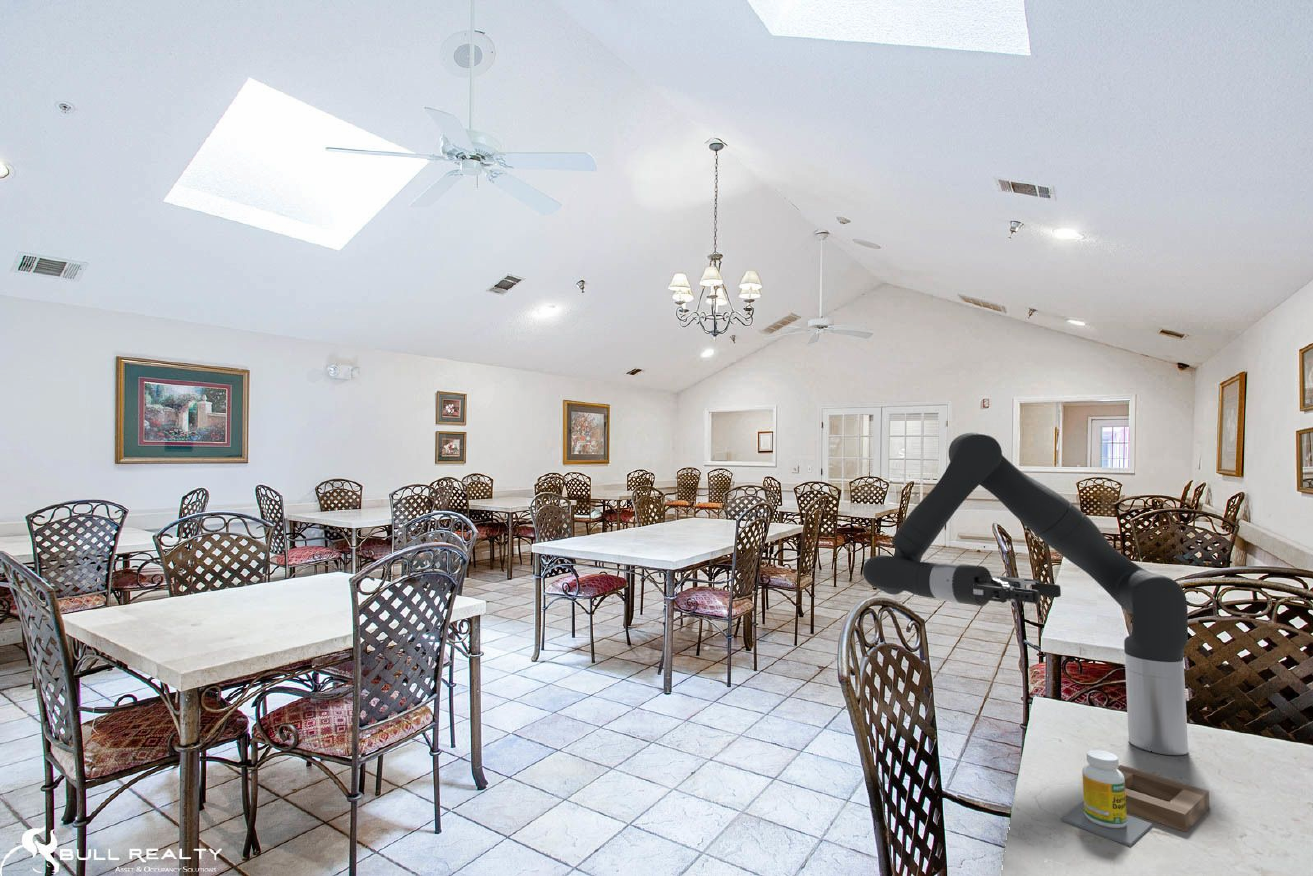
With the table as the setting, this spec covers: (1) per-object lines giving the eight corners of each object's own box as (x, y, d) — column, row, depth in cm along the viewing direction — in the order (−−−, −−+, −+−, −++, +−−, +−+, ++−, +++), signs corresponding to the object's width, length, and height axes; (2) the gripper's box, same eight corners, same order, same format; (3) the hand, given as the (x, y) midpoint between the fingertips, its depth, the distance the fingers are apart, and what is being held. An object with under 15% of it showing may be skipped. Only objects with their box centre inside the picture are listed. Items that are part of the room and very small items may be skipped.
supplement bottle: (1093, 808, 103) (1090, 745, 103) (1133, 822, 98) (1130, 756, 99) (1077, 818, 100) (1074, 753, 100) (1118, 833, 95) (1114, 765, 96)
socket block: (1121, 779, 113) (1120, 764, 113) (1209, 807, 104) (1208, 791, 104) (1093, 800, 106) (1092, 784, 106) (1185, 832, 97) (1184, 814, 97)
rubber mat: (1085, 802, 105) (1084, 800, 105) (1152, 826, 98) (1152, 823, 98) (1060, 820, 100) (1060, 817, 100) (1130, 846, 93) (1130, 843, 93)
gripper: (940, 567, 125) (1030, 576, 112) (977, 561, 133) (1065, 568, 120) (941, 607, 124) (1032, 621, 111) (979, 598, 133) (1067, 610, 120)
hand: (1049, 594), depth 116 cm, fingers open, 8 cm apart
